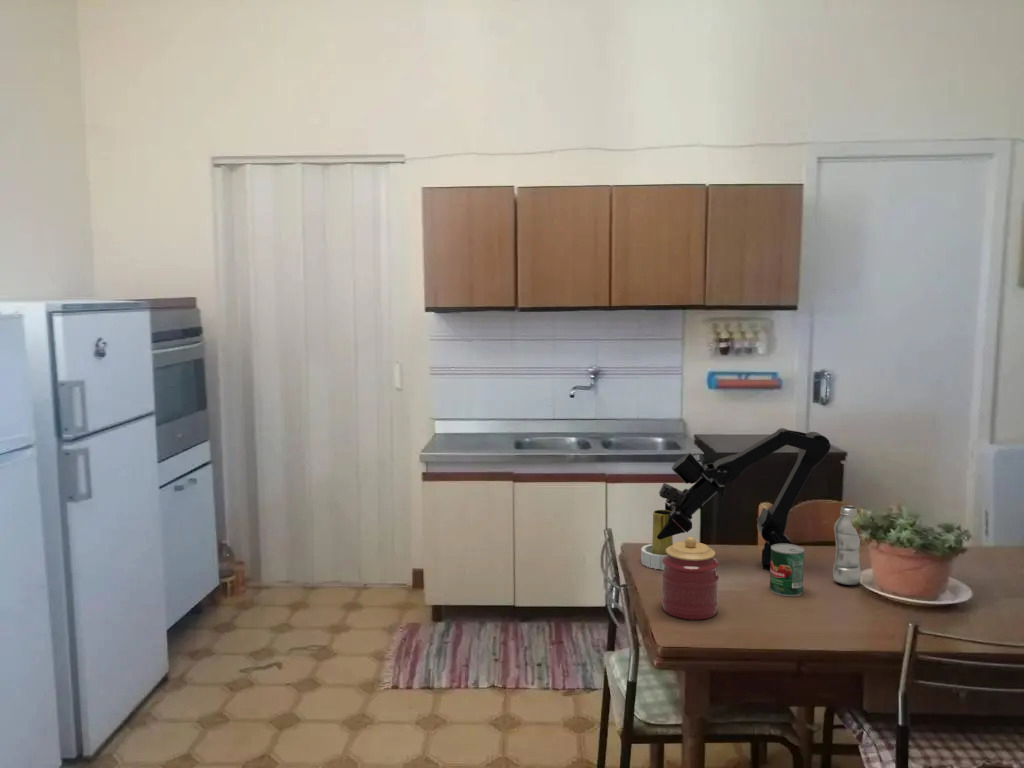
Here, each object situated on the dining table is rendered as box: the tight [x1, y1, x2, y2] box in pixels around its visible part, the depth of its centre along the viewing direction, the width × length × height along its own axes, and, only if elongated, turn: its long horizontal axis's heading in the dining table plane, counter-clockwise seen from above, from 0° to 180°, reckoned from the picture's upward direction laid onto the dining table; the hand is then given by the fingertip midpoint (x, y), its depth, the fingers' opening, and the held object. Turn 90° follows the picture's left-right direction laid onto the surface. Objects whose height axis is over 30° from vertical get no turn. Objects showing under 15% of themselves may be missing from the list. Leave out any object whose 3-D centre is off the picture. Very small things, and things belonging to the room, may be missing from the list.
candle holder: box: [640, 543, 666, 571], centre depth 212 cm, size 11×11×4 cm
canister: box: [661, 536, 720, 621], centre depth 179 cm, size 13×13×18 cm
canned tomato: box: [769, 543, 805, 597], centre depth 191 cm, size 8×8×11 cm
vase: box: [651, 509, 674, 555], centre depth 212 cm, size 6×6×14 cm
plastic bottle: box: [832, 505, 862, 586], centre depth 195 cm, size 6×7×20 cm
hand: (656, 533), depth 212 cm, fingers open, 9 cm apart
